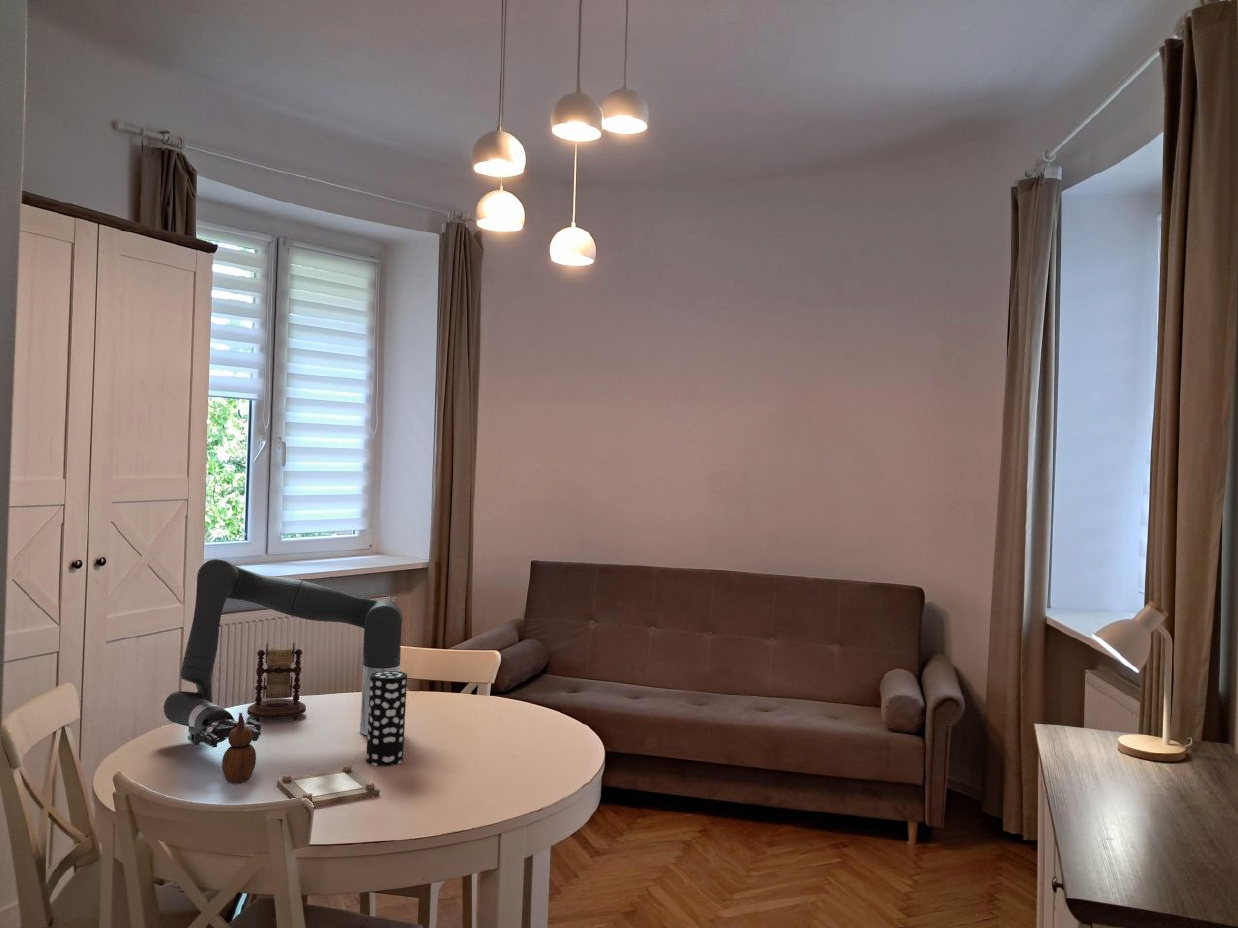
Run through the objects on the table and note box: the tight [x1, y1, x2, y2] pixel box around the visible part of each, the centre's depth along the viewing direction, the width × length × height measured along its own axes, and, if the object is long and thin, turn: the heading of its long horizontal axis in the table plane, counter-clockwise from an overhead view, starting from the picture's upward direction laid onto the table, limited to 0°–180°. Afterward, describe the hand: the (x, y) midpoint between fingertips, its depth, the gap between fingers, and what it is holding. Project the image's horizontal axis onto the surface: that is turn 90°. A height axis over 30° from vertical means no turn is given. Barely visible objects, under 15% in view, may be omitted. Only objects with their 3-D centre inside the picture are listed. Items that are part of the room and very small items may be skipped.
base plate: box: [276, 764, 381, 808], centre depth 189 cm, size 16×16×2 cm
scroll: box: [246, 641, 307, 723], centre depth 244 cm, size 15×15×20 cm
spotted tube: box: [365, 671, 408, 767], centre depth 211 cm, size 8×8×20 cm
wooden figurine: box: [221, 712, 257, 784], centre depth 193 cm, size 7×6×15 cm
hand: (236, 739), depth 195 cm, fingers open, 8 cm apart
